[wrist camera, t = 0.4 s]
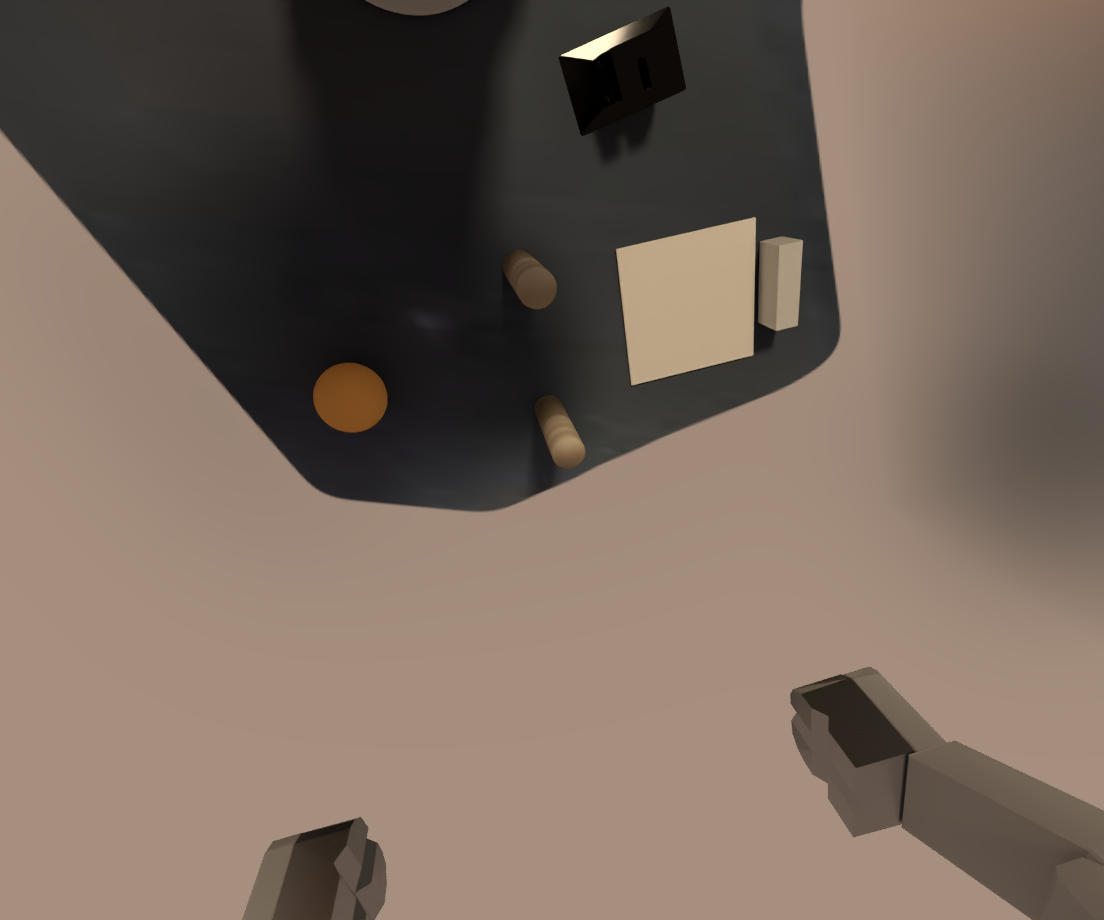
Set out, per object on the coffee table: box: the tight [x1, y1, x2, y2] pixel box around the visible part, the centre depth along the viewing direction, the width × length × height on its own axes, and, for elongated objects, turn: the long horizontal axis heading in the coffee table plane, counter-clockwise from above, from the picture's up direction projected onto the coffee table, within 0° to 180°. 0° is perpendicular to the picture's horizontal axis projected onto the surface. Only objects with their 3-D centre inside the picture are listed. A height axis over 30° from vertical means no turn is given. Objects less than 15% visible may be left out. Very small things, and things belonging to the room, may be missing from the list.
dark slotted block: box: [559, 7, 686, 136], centre depth 35 cm, size 12×7×5 cm, turn 111°
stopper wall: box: [758, 237, 803, 331], centre depth 44 cm, size 7×2×3 cm, turn 11°
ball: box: [313, 363, 387, 432], centre depth 41 cm, size 6×6×6 cm
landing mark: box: [616, 217, 756, 385], centre depth 45 cm, size 12×12×1 cm
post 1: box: [503, 250, 557, 309], centre depth 37 cm, size 3×3×9 cm
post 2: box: [534, 395, 585, 468], centre depth 44 cm, size 3×3×9 cm
